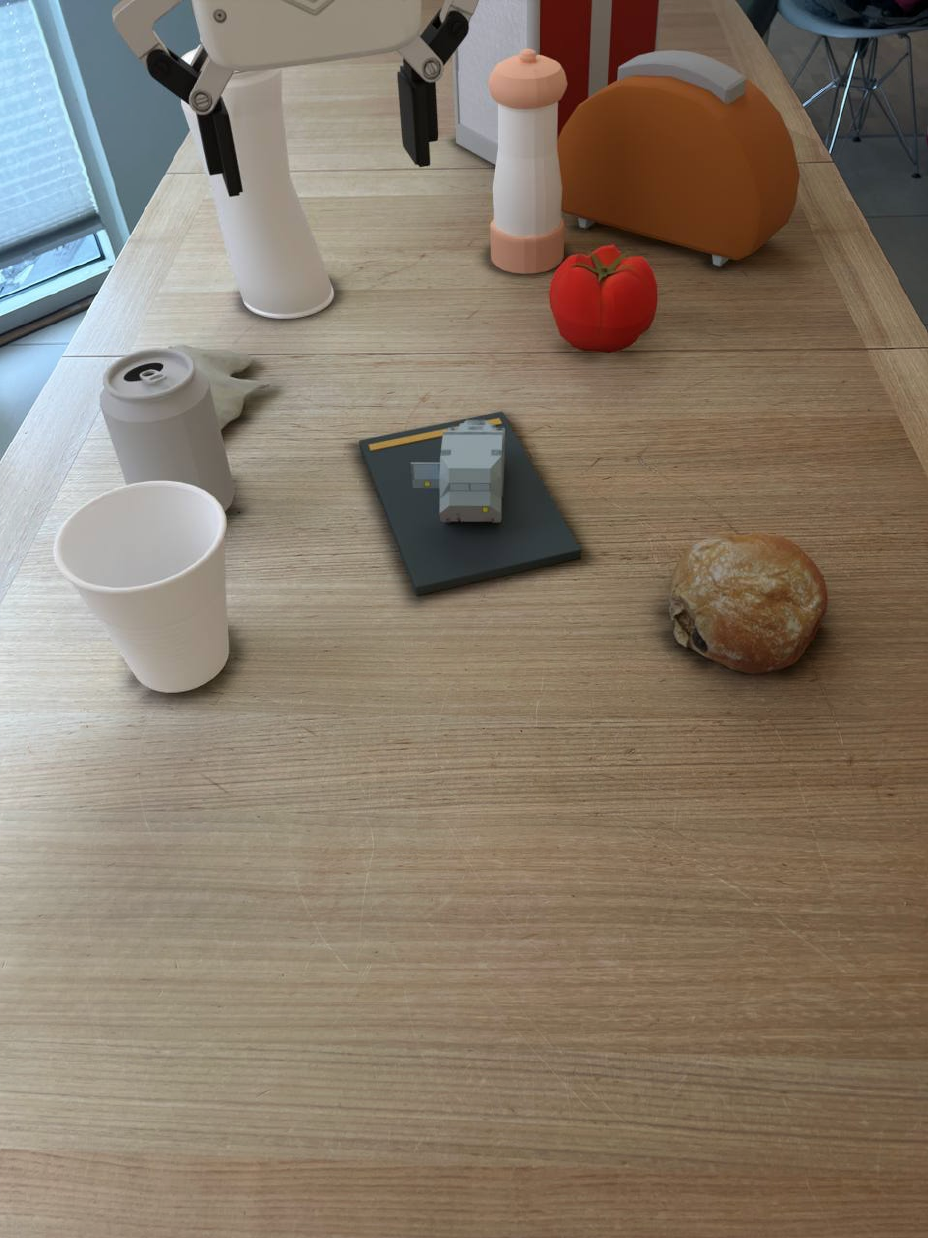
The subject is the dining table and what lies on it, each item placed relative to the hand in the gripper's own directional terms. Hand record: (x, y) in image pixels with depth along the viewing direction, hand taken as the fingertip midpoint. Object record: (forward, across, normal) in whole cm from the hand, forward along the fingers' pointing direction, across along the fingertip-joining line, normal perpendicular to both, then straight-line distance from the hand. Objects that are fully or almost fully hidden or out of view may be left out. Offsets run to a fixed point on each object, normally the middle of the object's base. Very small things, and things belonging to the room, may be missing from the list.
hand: (326, 171), depth 55 cm
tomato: (+28, +26, +24) cm, 45 cm away
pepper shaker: (+28, +25, +41) cm, 56 cm away
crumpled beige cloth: (+28, -10, +25) cm, 39 cm away
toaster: (+28, +40, +41) cm, 64 cm away
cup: (+28, -14, -4) cm, 32 cm away
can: (+28, -12, +12) cm, 33 cm away
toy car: (+28, +8, +6) cm, 29 cm away
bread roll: (+28, +22, -12) cm, 38 cm away
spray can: (+28, 0, +43) cm, 51 cm away
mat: (+28, +8, +6) cm, 30 cm away
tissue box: (+28, +37, +67) cm, 82 cm away
